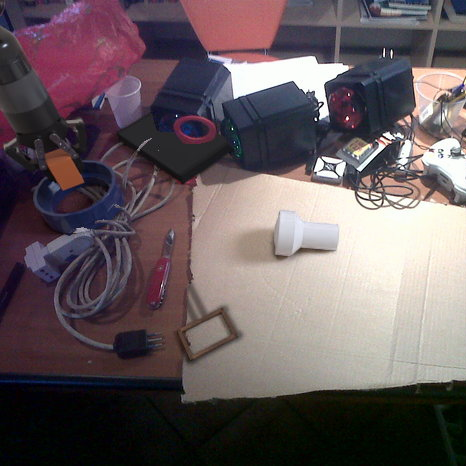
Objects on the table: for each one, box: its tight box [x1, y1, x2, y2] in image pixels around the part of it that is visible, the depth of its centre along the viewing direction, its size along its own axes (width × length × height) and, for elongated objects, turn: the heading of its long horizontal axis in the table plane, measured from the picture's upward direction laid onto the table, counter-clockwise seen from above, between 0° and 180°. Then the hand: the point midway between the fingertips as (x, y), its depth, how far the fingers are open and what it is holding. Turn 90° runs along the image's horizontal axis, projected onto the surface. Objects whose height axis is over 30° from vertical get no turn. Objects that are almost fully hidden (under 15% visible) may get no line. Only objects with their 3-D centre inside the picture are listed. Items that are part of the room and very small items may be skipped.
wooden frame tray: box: [176, 306, 239, 362], centre depth 80 cm, size 8×17×2 cm, turn 30°
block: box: [45, 147, 84, 190], centre depth 90 cm, size 4×4×6 cm
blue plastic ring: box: [32, 159, 125, 235], centre depth 96 cm, size 15×15×6 cm
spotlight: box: [273, 209, 340, 257], centre depth 86 cm, size 8×11×8 cm
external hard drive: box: [116, 111, 234, 185], centre depth 108 cm, size 14×23×3 cm, turn 49°
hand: (68, 175), depth 91 cm, fingers closed on block, 4 cm apart
